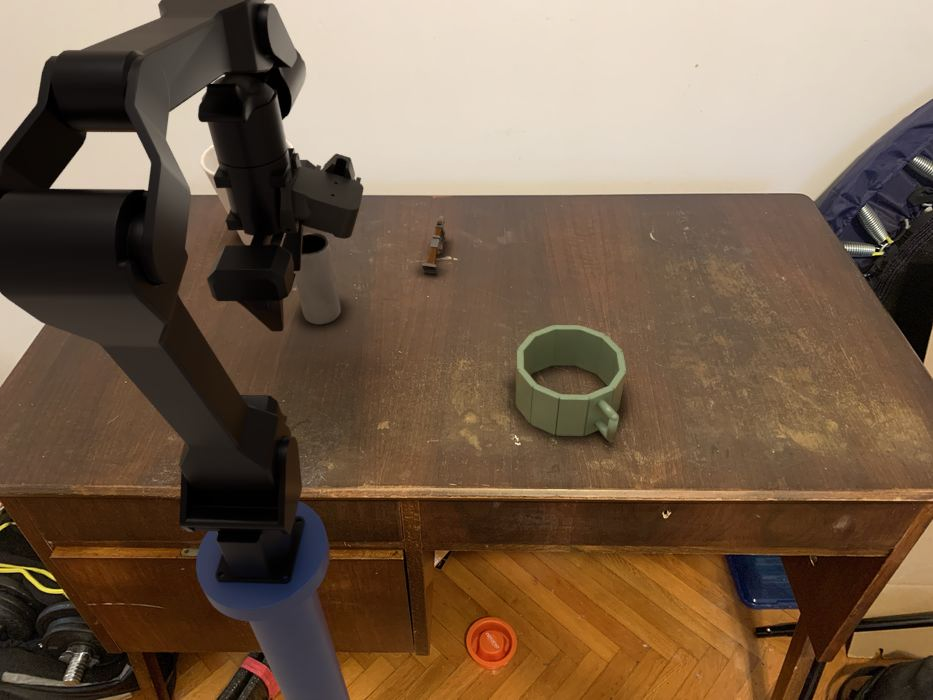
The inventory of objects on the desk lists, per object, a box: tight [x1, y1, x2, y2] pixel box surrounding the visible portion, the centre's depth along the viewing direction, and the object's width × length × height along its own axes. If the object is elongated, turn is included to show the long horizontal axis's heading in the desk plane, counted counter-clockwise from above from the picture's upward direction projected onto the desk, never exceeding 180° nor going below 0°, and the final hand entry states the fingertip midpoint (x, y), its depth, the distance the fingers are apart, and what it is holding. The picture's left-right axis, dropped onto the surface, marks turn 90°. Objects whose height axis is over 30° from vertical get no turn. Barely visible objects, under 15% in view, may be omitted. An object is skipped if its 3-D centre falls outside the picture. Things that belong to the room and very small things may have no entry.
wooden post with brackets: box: [421, 215, 447, 275], centre depth 96 cm, size 2×8×4 cm, turn 168°
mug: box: [514, 324, 627, 442], centre depth 75 cm, size 14×11×6 cm
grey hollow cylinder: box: [294, 231, 342, 325], centre depth 85 cm, size 4×4×10 cm
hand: (286, 298), depth 70 cm, fingers open, 9 cm apart
